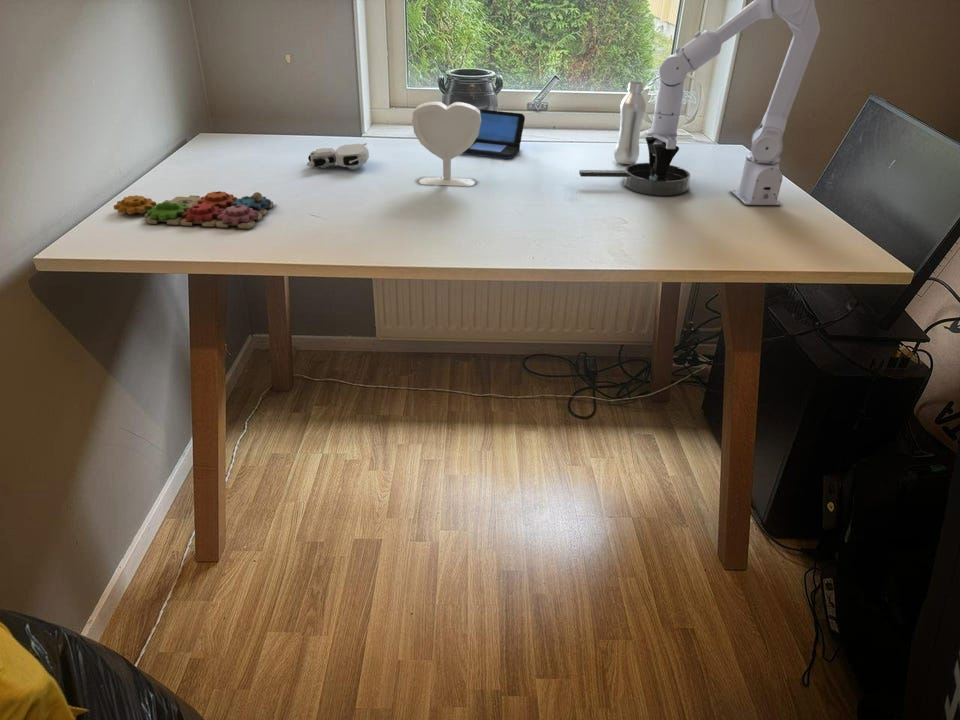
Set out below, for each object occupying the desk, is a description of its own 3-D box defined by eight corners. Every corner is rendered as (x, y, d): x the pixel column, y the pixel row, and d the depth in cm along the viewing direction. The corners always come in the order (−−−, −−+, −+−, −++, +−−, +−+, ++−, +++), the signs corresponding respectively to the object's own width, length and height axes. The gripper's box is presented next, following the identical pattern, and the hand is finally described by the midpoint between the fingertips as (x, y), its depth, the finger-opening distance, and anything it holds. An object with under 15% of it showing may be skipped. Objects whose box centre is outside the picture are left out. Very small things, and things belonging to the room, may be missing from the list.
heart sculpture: (413, 184, 163) (411, 104, 153) (415, 177, 167) (413, 99, 158) (479, 186, 163) (480, 106, 153) (479, 179, 167) (481, 102, 157)
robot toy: (307, 177, 168) (369, 172, 169) (304, 158, 166) (366, 153, 167) (312, 162, 178) (370, 157, 179) (309, 145, 176) (368, 140, 177)
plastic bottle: (636, 160, 184) (647, 80, 174) (639, 167, 178) (650, 86, 168) (612, 159, 185) (621, 79, 174) (613, 166, 179) (624, 84, 168)
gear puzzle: (99, 222, 138) (93, 202, 136) (140, 196, 151) (135, 178, 149) (251, 230, 136) (248, 210, 134) (278, 203, 149) (276, 185, 147)
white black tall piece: (670, 189, 163) (677, 147, 157) (647, 189, 163) (654, 147, 157) (663, 179, 168) (671, 138, 162) (641, 179, 168) (648, 137, 162)
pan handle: (626, 177, 163) (627, 172, 163) (580, 176, 163) (581, 172, 162) (624, 174, 165) (625, 170, 164) (579, 174, 164) (579, 169, 164)
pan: (695, 196, 160) (698, 181, 158) (631, 196, 159) (633, 181, 157) (677, 177, 172) (679, 163, 170) (617, 176, 172) (619, 162, 170)
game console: (455, 154, 186) (455, 118, 181) (470, 142, 196) (471, 108, 192) (511, 160, 182) (513, 124, 177) (523, 147, 193) (525, 113, 188)
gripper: (641, 105, 163) (633, 162, 170) (657, 119, 150) (648, 181, 157) (671, 105, 163) (661, 163, 170) (689, 120, 151) (678, 181, 158)
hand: (657, 171), depth 164 cm, fingers closed on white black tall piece, 5 cm apart
